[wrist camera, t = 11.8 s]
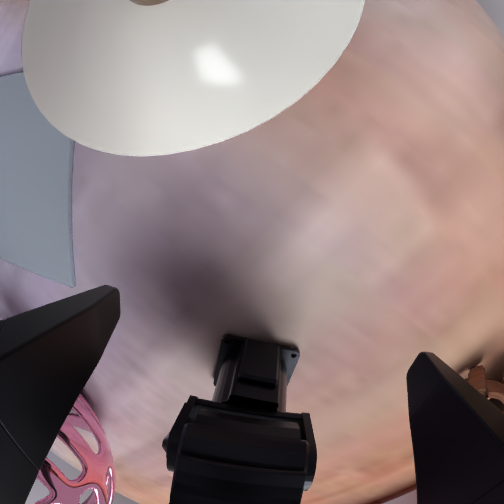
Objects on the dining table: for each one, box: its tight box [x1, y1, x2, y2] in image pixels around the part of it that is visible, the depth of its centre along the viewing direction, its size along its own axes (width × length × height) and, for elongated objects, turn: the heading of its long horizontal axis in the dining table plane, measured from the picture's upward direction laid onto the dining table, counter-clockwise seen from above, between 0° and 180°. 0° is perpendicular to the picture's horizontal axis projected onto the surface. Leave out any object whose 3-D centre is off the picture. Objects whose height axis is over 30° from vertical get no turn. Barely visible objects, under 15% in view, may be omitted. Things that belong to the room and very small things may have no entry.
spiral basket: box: [35, 393, 116, 504], centre depth 21 cm, size 28×28×27 cm
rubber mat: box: [0, 72, 76, 288], centre depth 20 cm, size 19×19×1 cm
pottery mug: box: [465, 365, 504, 413], centre depth 22 cm, size 12×10×8 cm
